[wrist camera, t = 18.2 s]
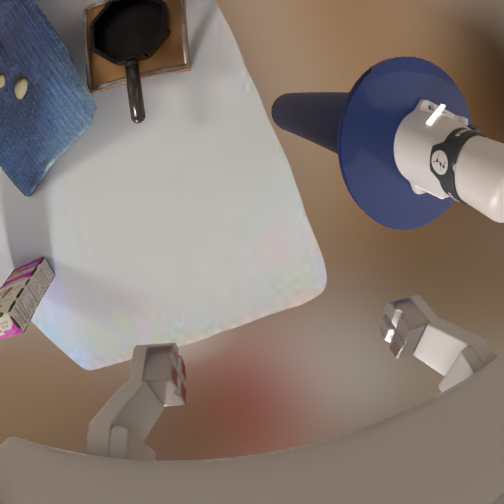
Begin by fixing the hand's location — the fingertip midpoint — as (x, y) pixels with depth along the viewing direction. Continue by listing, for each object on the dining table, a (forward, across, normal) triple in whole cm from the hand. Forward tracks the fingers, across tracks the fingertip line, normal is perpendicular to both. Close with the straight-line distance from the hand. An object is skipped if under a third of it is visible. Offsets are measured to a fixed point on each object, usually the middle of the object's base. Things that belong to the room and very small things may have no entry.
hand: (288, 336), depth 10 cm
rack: (+35, +10, -20) cm, 42 cm away
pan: (+31, +11, -16) cm, 36 cm away
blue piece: (+35, +34, -25) cm, 55 cm away
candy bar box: (+35, +42, +15) cm, 57 cm away
